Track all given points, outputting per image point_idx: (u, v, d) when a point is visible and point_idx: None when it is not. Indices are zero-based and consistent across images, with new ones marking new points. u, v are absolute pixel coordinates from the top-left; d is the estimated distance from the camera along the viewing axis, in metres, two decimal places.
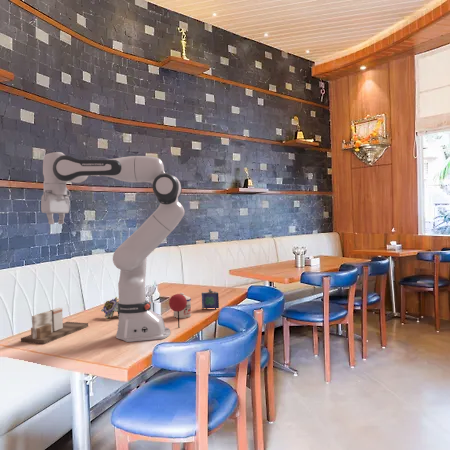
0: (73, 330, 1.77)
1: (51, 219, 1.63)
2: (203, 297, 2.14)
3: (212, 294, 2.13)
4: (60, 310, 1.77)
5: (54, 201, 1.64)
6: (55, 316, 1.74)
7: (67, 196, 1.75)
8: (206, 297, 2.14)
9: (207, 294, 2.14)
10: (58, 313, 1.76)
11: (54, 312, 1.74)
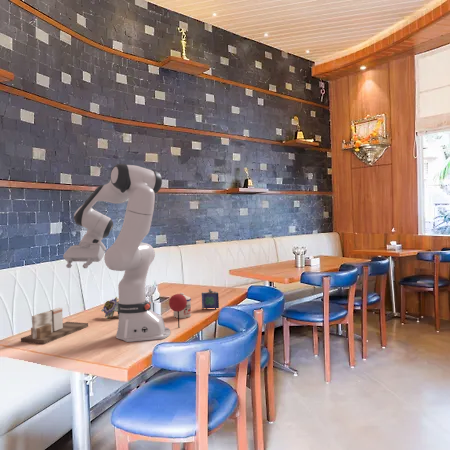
0: (73, 330, 1.77)
1: None
2: (203, 297, 2.14)
3: (212, 294, 2.13)
4: (60, 310, 1.77)
5: (75, 250, 1.95)
6: (55, 316, 1.74)
7: (95, 244, 1.92)
8: (206, 297, 2.14)
9: (207, 294, 2.14)
10: (58, 313, 1.76)
11: (54, 312, 1.74)
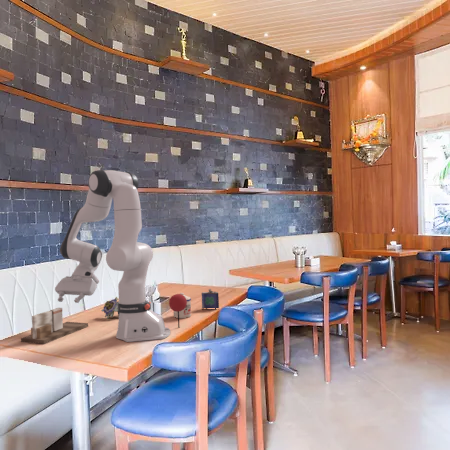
0: (73, 330, 1.77)
1: None
2: (203, 297, 2.14)
3: (212, 294, 2.13)
4: (60, 310, 1.77)
5: (67, 282, 1.89)
6: (55, 316, 1.74)
7: (87, 277, 1.87)
8: (206, 297, 2.14)
9: (207, 294, 2.14)
10: (58, 313, 1.76)
11: (54, 312, 1.74)
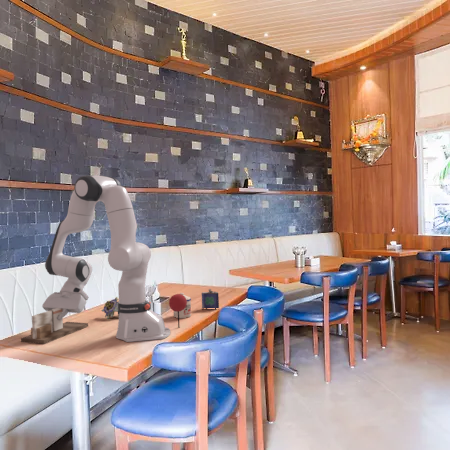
0: (73, 330, 1.77)
1: None
2: (203, 297, 2.14)
3: (212, 294, 2.13)
4: (60, 310, 1.77)
5: (55, 299, 1.82)
6: (55, 316, 1.74)
7: (76, 293, 1.79)
8: (206, 297, 2.14)
9: (207, 294, 2.14)
10: (58, 313, 1.76)
11: (54, 312, 1.74)
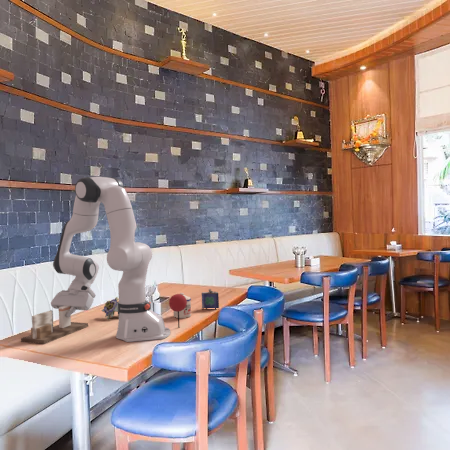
0: (73, 330, 1.77)
1: None
2: (203, 297, 2.14)
3: (212, 294, 2.13)
4: (68, 307, 1.82)
5: (63, 296, 1.87)
6: (63, 313, 1.79)
7: (84, 291, 1.84)
8: (206, 297, 2.14)
9: (207, 294, 2.14)
10: (66, 310, 1.81)
11: (62, 309, 1.78)
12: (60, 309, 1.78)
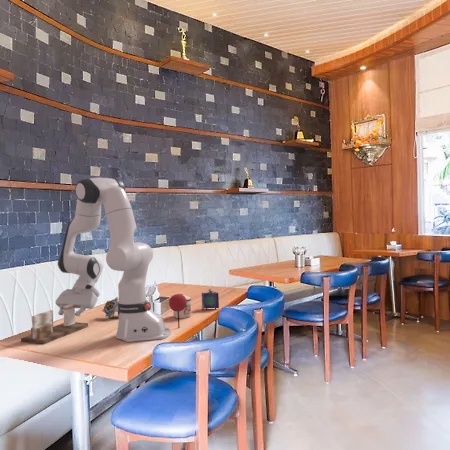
0: (73, 330, 1.77)
1: None
2: (203, 297, 2.14)
3: (212, 294, 2.13)
4: (73, 306, 1.84)
5: (68, 295, 1.90)
6: (68, 312, 1.82)
7: (88, 290, 1.87)
8: (206, 297, 2.14)
9: (207, 294, 2.14)
10: (71, 309, 1.83)
11: (67, 308, 1.81)
12: (65, 308, 1.81)
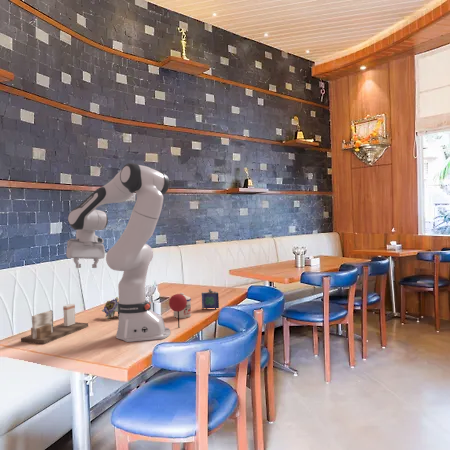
0: (73, 330, 1.77)
1: (77, 263, 1.89)
2: (203, 297, 2.14)
3: (212, 294, 2.13)
4: (73, 306, 1.84)
5: (80, 248, 1.90)
6: (68, 312, 1.82)
7: (99, 243, 1.99)
8: (206, 297, 2.14)
9: (207, 294, 2.14)
10: (71, 309, 1.83)
11: (67, 308, 1.81)
12: (65, 308, 1.81)
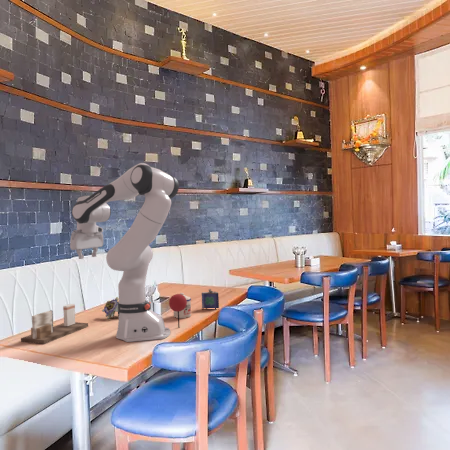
0: (73, 330, 1.77)
1: (80, 254, 1.89)
2: (203, 297, 2.14)
3: (212, 294, 2.13)
4: (73, 306, 1.84)
5: (83, 239, 1.90)
6: (68, 312, 1.82)
7: (99, 232, 2.00)
8: (206, 297, 2.14)
9: (207, 294, 2.14)
10: (71, 309, 1.83)
11: (67, 308, 1.81)
12: (65, 308, 1.81)
